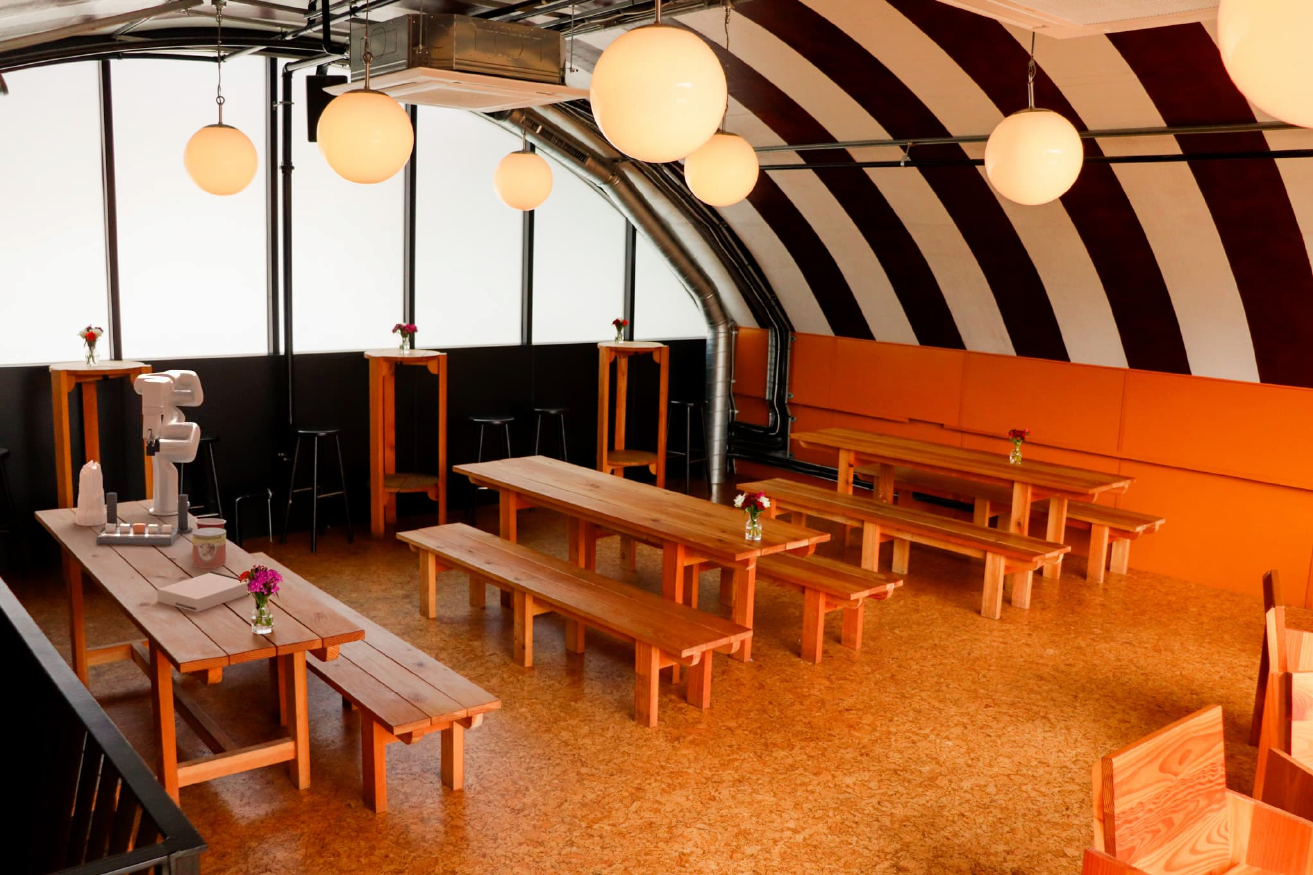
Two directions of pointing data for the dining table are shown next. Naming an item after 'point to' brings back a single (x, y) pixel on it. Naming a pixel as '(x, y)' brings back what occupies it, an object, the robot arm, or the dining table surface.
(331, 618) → the dining table surface
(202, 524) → the plastic cup
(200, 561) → the canned food
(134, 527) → the block
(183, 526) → the post
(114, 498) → the knob
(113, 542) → the breaker panel
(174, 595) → the disc drive
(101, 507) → the white ridged tapered column
